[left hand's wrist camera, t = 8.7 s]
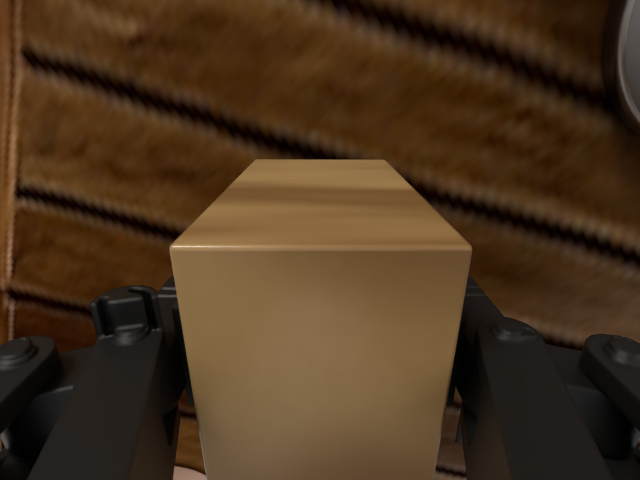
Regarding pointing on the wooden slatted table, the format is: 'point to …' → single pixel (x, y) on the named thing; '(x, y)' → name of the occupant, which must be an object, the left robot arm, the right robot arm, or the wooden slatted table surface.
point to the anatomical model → (187, 474)
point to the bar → (320, 323)
